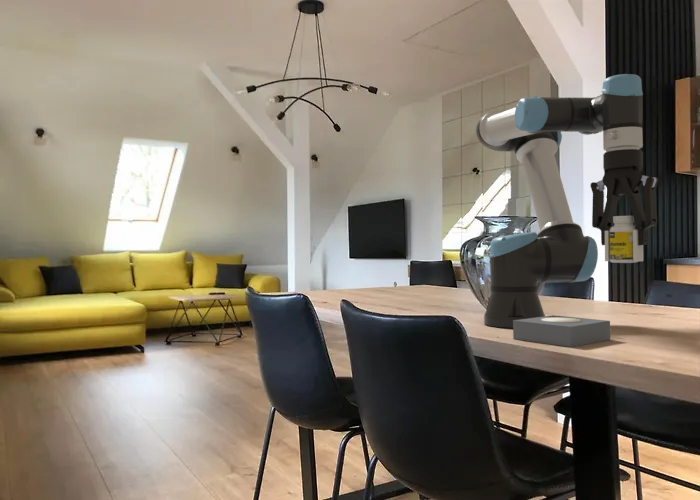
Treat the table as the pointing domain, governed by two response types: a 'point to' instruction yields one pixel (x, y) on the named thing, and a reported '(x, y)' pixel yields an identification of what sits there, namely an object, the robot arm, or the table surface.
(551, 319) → the riser
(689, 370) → the table surface
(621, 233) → the supplement bottle
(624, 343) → the table surface
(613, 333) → the table surface
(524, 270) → the robot arm
